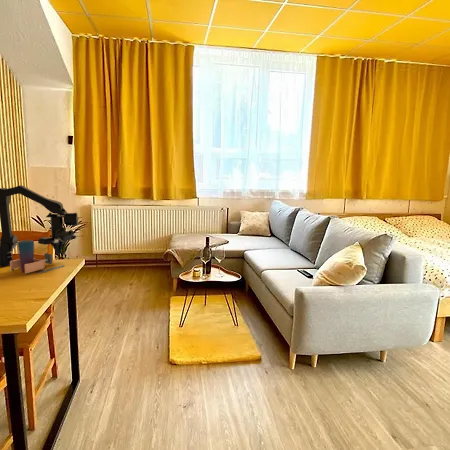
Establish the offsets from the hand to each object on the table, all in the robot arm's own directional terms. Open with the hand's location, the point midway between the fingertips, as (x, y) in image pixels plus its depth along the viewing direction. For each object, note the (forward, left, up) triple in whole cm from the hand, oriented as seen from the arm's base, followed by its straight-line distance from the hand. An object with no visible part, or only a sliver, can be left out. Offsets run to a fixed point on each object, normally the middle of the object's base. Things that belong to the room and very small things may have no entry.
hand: (58, 254), depth 178 cm
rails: (0, -10, -5) cm, 11 cm away
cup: (0, -17, -5) cm, 18 cm away
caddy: (0, -14, -5) cm, 14 cm away
